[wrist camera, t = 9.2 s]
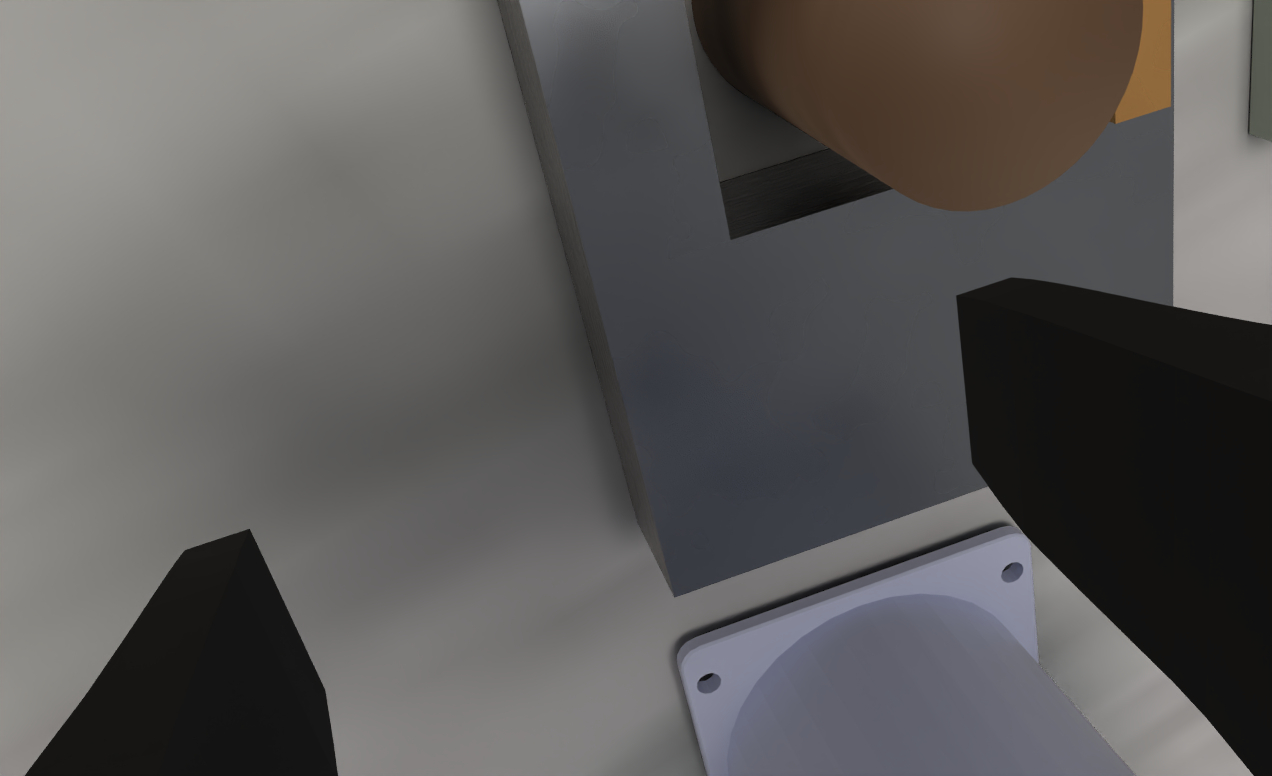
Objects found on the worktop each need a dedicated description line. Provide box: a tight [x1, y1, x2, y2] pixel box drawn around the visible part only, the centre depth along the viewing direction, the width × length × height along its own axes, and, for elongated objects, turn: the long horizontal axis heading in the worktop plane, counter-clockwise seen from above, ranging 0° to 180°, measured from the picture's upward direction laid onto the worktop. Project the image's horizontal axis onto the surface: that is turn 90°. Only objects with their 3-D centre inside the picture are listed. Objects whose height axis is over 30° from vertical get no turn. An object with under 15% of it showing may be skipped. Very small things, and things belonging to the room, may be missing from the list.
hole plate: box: [497, 0, 1174, 597], centre depth 18 cm, size 18×10×3 cm, turn 13°
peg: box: [692, 0, 1143, 211], centre depth 17 cm, size 4×4×6 cm
